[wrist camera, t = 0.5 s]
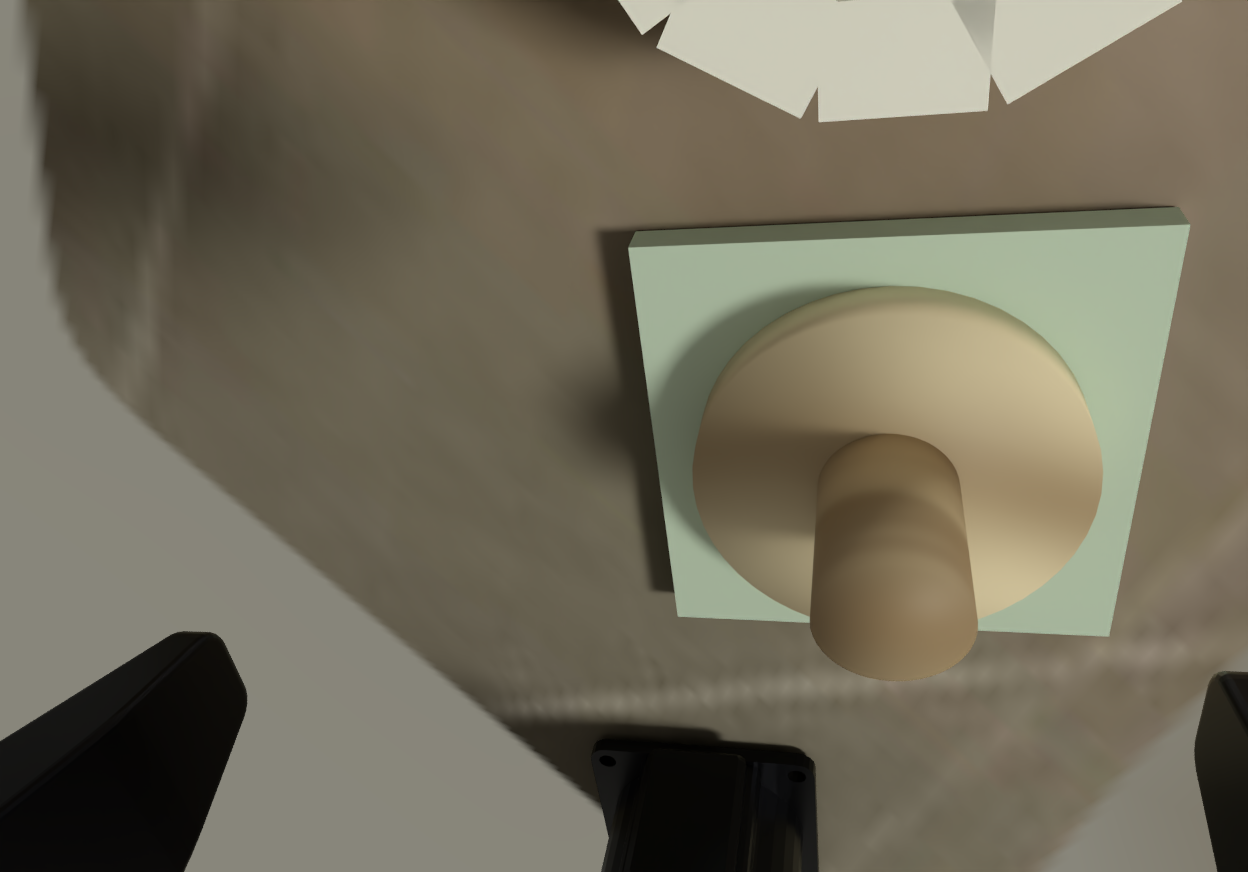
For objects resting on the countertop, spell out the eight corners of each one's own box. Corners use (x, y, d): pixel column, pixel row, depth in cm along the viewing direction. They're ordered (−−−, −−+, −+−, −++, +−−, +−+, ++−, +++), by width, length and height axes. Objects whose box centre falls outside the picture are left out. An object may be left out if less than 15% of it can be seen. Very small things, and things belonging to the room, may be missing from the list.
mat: (1102, 611, 23) (1108, 636, 23) (682, 594, 26) (677, 616, 25) (1178, 206, 18) (1190, 224, 17) (635, 231, 20) (628, 247, 20)
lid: (1066, 602, 22) (1111, 791, 18) (714, 588, 24) (684, 756, 20) (1118, 278, 18) (1192, 433, 14) (683, 291, 20) (637, 432, 16)
